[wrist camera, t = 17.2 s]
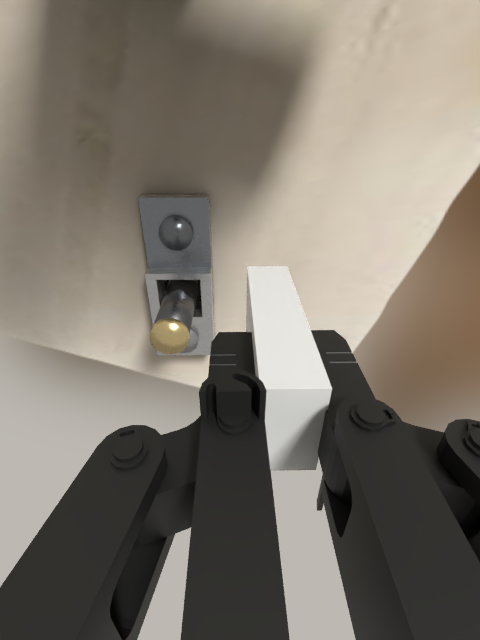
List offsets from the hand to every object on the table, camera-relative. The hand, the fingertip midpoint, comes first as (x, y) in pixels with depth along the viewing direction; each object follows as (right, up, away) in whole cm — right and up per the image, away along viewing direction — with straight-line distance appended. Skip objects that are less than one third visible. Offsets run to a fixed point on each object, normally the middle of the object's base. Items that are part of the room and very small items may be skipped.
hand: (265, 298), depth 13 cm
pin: (-9, +4, +33) cm, 34 cm away
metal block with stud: (-9, +6, +32) cm, 34 cm away
